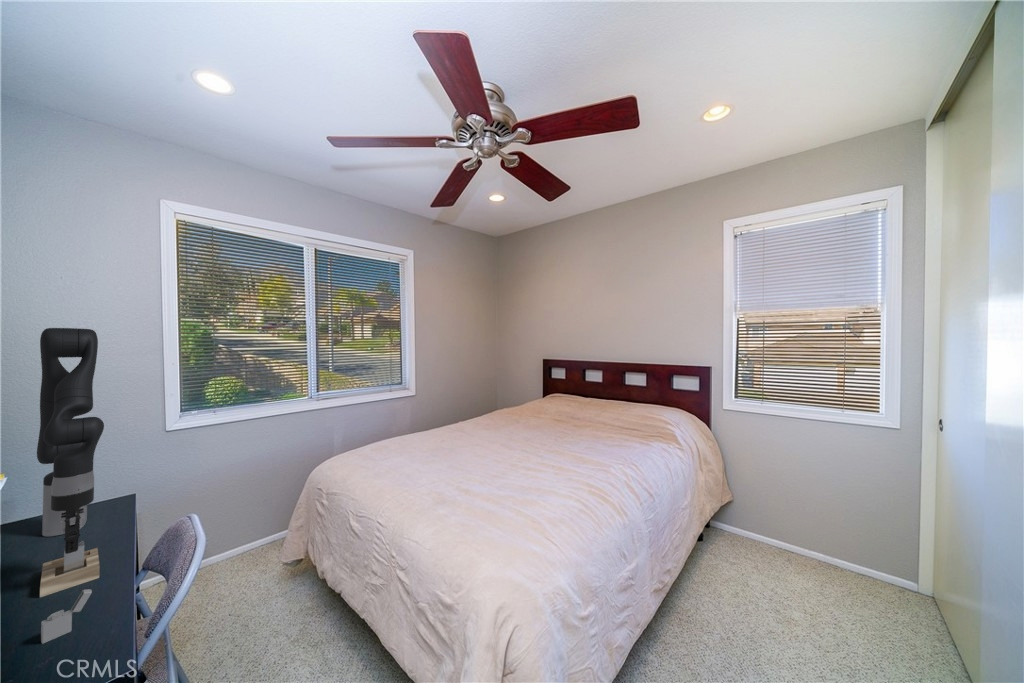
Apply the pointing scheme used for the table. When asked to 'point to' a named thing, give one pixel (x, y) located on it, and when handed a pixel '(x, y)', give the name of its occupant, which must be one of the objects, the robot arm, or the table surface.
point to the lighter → (62, 619)
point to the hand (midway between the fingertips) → (71, 545)
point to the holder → (58, 581)
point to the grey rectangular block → (74, 559)
